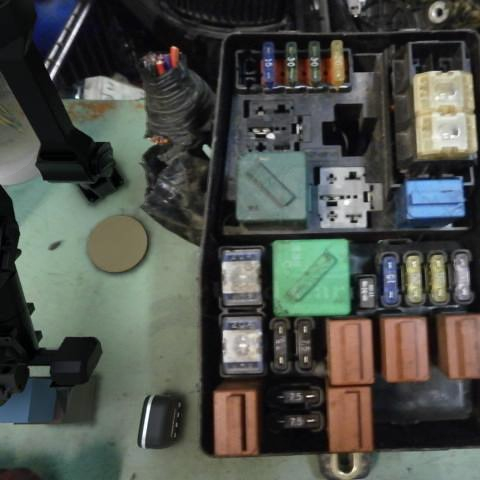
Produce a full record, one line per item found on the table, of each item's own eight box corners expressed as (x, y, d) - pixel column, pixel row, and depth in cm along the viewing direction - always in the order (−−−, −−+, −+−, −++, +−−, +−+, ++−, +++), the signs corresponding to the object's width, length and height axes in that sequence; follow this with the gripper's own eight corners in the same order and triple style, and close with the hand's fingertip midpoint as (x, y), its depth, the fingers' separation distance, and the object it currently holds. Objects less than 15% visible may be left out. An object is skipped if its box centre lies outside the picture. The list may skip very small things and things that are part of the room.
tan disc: (79, 238, 88) (76, 236, 86) (130, 207, 89) (128, 204, 88) (108, 285, 86) (105, 283, 84) (159, 252, 87) (158, 250, 86)
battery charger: (182, 445, 79) (164, 452, 68) (156, 443, 79) (134, 450, 68) (189, 396, 81) (173, 395, 70) (164, 393, 81) (143, 393, 70)
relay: (21, 420, 69) (-8, 423, 63) (27, 380, 71) (-2, 378, 64) (53, 420, 69) (27, 422, 63) (58, 380, 71) (33, 378, 64)
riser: (50, 421, 80) (13, 424, 69) (56, 379, 81) (20, 376, 71) (92, 420, 80) (60, 424, 69) (96, 378, 82) (66, 376, 71)
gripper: (-140, 358, 53) (-87, 466, 60) (54, 358, 53) (84, 464, 61) (-72, 294, 62) (-33, 394, 70) (92, 294, 63) (113, 393, 71)
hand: (30, 411), depth 68 cm, fingers open, 8 cm apart
